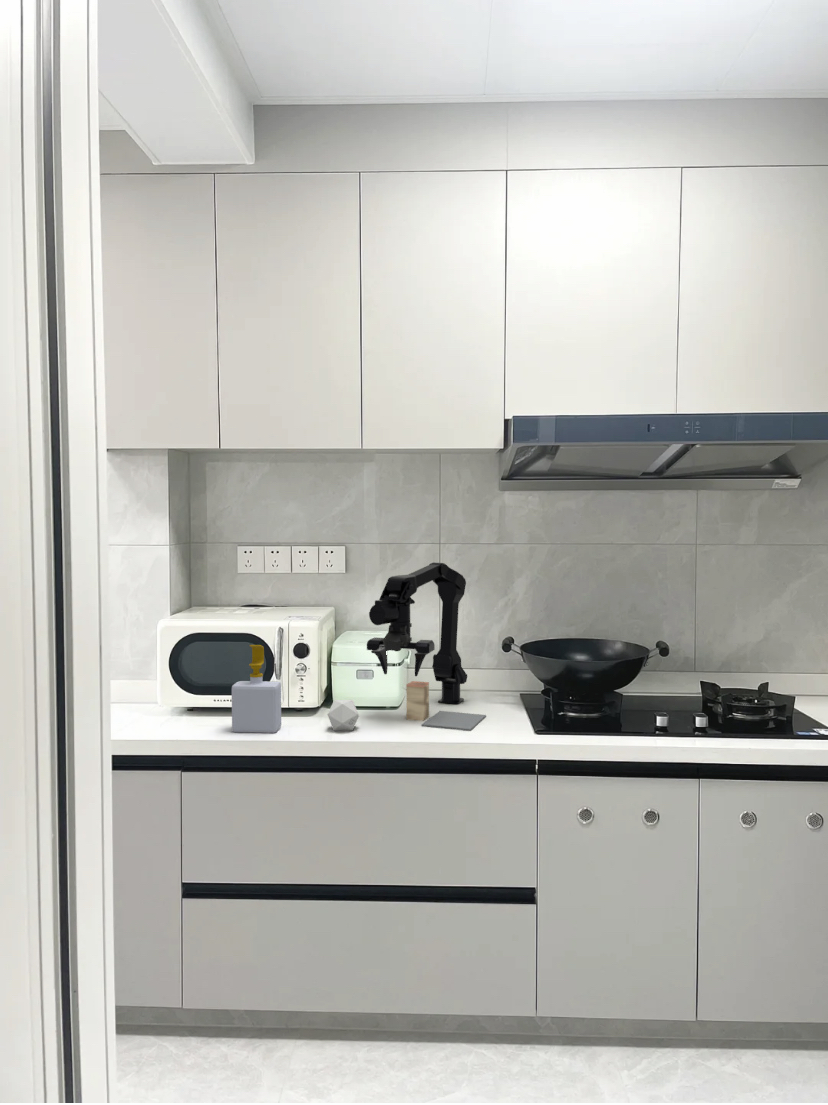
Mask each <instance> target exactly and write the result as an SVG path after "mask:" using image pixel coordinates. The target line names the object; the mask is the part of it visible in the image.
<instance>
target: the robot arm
mask: <svg viewBox="0 0 828 1105" xmlns="http://www.w3.org/2000/svg"><path fill="white" fill-rule="evenodd" d="M430 582H433V583H434V584H435V585H436V587H437V594H438V596H439V598H440V600H441V602H442V605H441V607H442V608H441V624H440V625H441V626H440V643H439V644H440V646H439V650H438V651H437V653H436V654H433V656H432V667H431V668H432V670H433V675H434V679H435V681H436V682H441V698H440V699H438V701H437V703H441V704H451V705H452V704H453V705H459V704H460V703H461V702H463V701H464V699H465V698H464V697H461V685H464V684H465V683H467V681H468V674H467V672H466V671H465V670H464V669H463V667H462V658H461V656H460V654H459V652H458V650H457V647H458V646H457V644H458V624H459V623H458V621H459V604H460V602H461V600H462V598H463V596H464V595H465V590H466V584H467V581H466V578H465V577H464V576H463V574H461V573H459V572H458V571H456V570H455V569H453V568H452V567H449V566H448V565H447V563H445V562H431V563H429V564H428V565H427V566H424V567H422V568H419V569H417V570H415V571H413V572H411V573H409V574H399V575H392V576H389V577H388V578H387V581H386V584H385V586H384V588H383V591H382V592H381V595H380V598H379V599H377V600H374V604H373V605H372V606H371V607H370V610H369V612H368V615H369V620H370V622H371V623H372V624H373V625H375V626H382V625H386V624H387V625H388V631H387V633H386V634H385V636H384V637H375V636H374V637H373V638H370V639H369V640H367V641H366V642H367V643H366V651H370V652H371V654H374V655H375V656H376V657H377V659H378V661H379V663H380V666H381V669H382V672H383V674H384V675H387V674H388V654H387V655H386V651H387V652H388V651H392V652H393V651H394V652H400V651H401V650H402V649H406V650H415V651H416V653H414V658H415V659H414V660H415V662H414V663H415V664H414V676H415V677H417V676H418V675H419V672H420V670H421V666H422V664H423V662H424V659H425V658H426V656H427V655H428V654H431V653H432V652H433V651H435V650H436V649H435V642H434V641H433V640H432V639H431V640H430V639H420V640H418V641H416V642H414V641H413V639H412V637H411V627H412V623H411V605H414V604H415V603H416V602H415V600H414V599H413V598H412V596H413V595H415V593H417V591H418V589H419V588H420V587H422V586H424V585H426V584H428V583H430ZM412 641H413V642H412Z"/></svg>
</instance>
